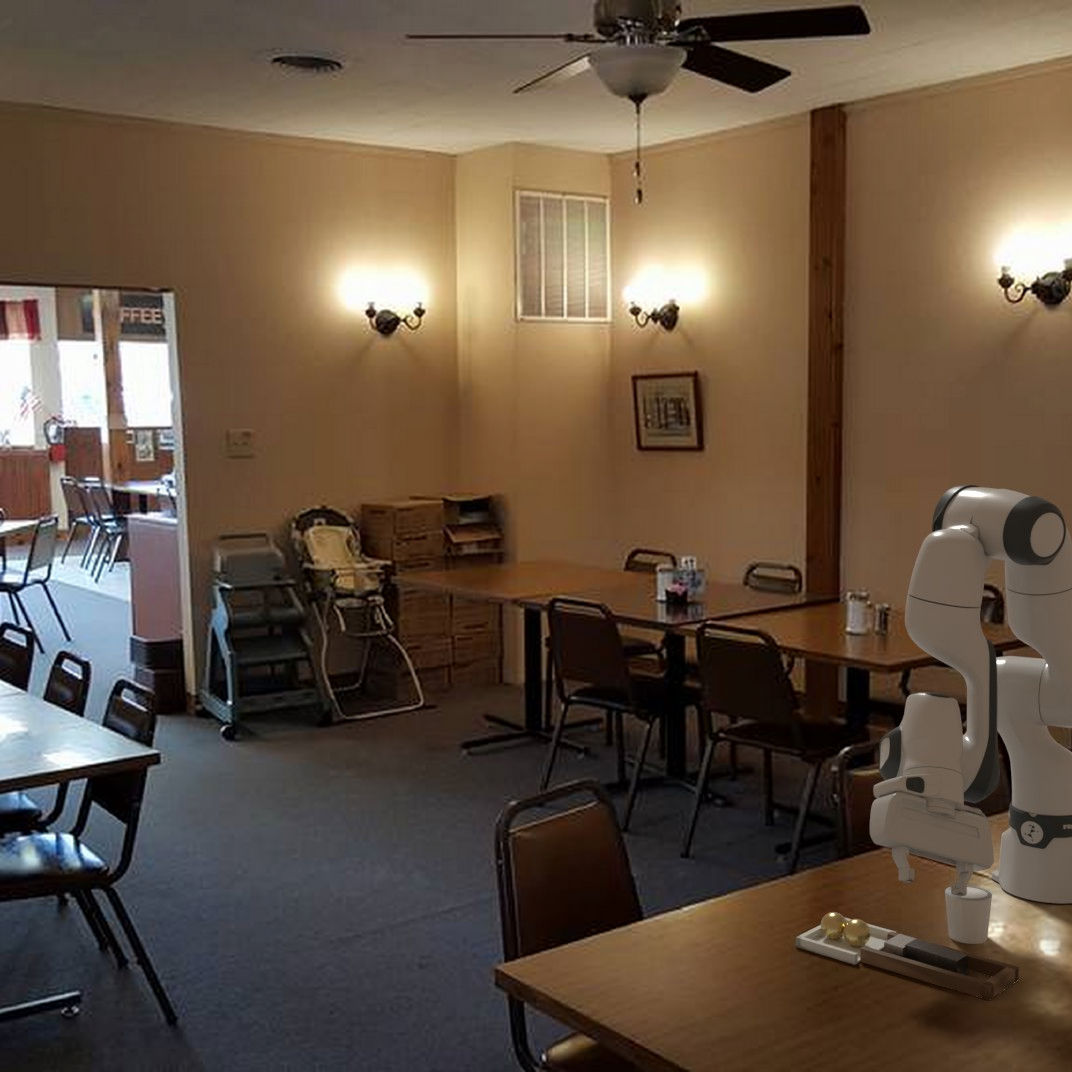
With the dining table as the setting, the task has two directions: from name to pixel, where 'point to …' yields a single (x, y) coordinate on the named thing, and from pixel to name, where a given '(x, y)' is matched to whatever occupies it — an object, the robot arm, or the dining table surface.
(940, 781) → the robot arm
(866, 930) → the brass sphere
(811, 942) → the tray
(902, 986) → the dining table surface
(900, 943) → the long gray brick
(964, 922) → the white cup
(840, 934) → the shiny gold ball
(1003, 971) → the slot rail
